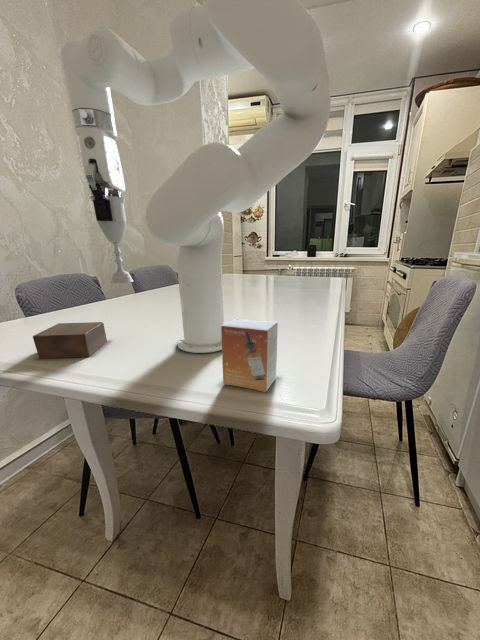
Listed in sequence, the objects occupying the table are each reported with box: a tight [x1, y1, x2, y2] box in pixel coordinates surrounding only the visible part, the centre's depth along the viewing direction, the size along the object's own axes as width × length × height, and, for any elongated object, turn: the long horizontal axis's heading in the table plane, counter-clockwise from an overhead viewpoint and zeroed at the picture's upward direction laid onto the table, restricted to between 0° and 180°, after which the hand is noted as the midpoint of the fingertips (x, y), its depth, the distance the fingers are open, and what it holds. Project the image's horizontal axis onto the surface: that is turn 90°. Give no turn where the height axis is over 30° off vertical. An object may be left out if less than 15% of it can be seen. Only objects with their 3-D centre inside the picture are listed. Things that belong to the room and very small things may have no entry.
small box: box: [221, 317, 279, 393], centre depth 49 cm, size 8×6×10 cm
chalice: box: [89, 195, 135, 284], centre depth 67 cm, size 7×7×18 cm
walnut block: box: [32, 321, 108, 360], centre depth 65 cm, size 10×10×5 cm
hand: (112, 221), depth 65 cm, fingers closed on chalice, 7 cm apart
